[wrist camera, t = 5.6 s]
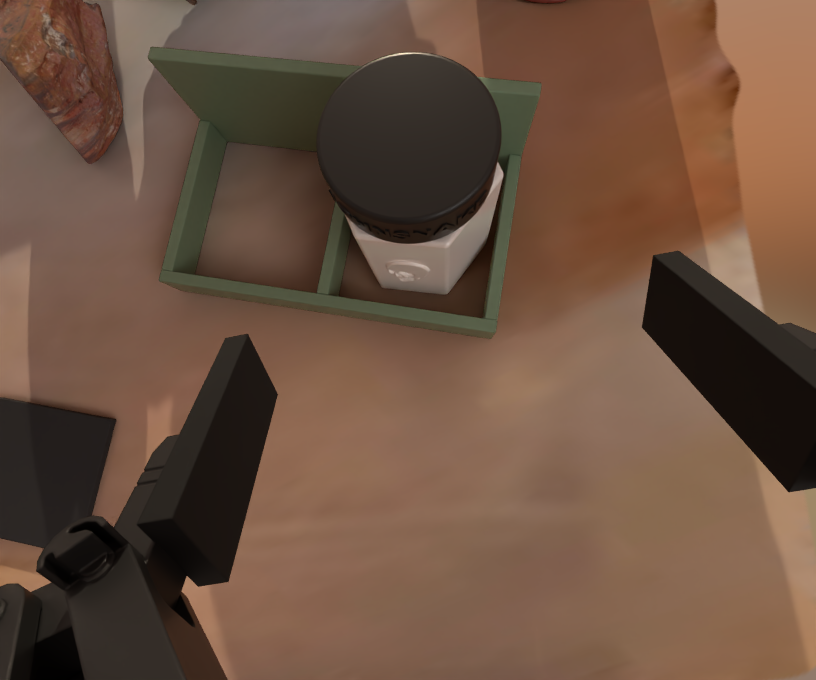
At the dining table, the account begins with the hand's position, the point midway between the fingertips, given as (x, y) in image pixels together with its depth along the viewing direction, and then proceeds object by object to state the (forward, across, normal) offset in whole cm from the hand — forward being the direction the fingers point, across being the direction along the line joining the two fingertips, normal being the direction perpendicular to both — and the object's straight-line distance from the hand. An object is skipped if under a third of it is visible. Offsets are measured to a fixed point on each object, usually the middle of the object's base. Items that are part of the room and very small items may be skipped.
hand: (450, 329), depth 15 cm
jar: (+17, 0, -4) cm, 18 cm away
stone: (+29, -22, +8) cm, 37 cm away
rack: (+18, -5, -3) cm, 19 cm away
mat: (+9, -29, -12) cm, 33 cm away
